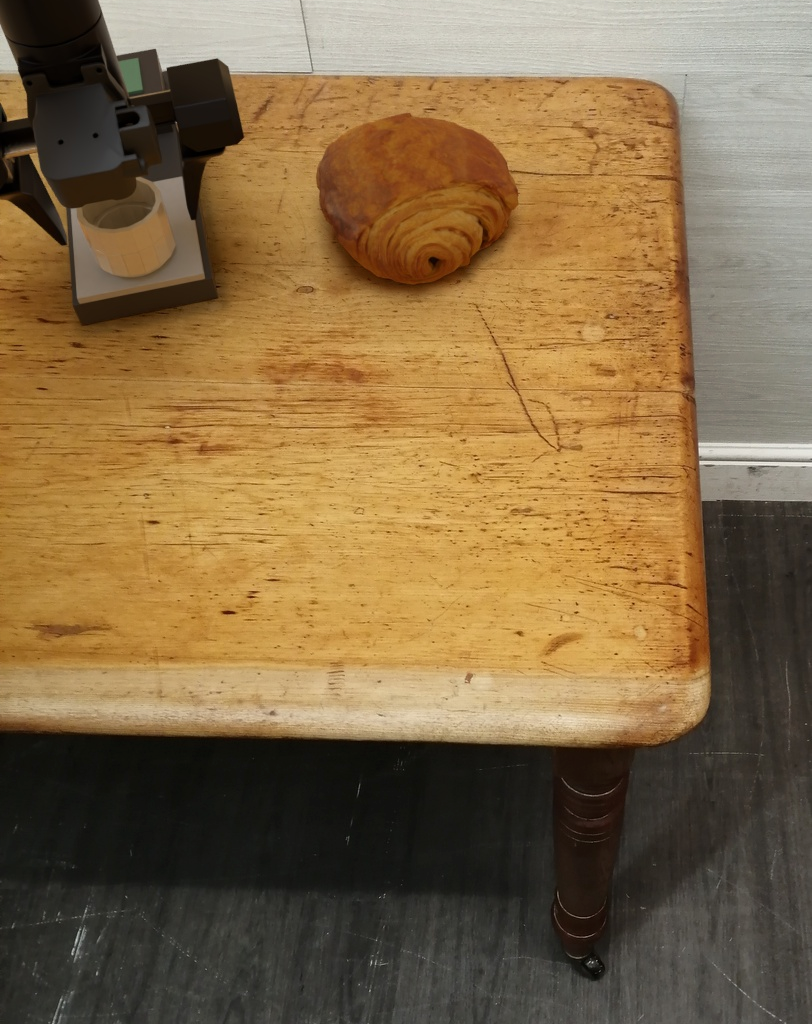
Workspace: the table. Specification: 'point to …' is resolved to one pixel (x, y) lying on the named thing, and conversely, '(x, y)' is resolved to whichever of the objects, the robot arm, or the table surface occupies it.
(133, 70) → the scale
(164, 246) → the bowl
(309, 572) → the table surface
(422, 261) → the croissant
